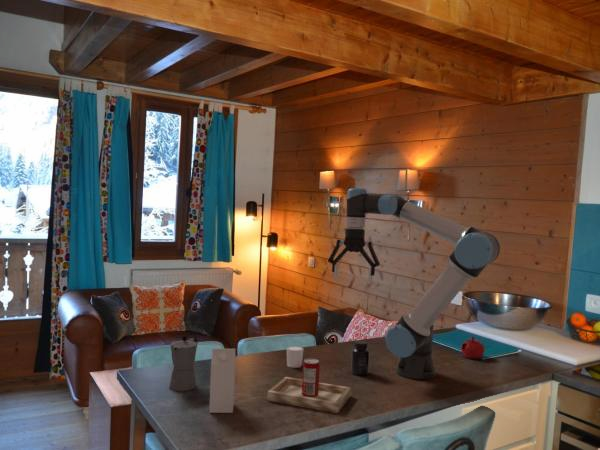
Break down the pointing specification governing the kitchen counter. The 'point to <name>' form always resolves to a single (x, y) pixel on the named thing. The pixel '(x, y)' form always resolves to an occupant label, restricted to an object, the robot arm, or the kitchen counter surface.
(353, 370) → the supplement bottle
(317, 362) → the soda can
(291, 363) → the white cylinder
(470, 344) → the pomegranate
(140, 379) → the kitchen counter surface
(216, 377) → the milk carton
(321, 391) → the tray
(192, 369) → the coffeepot
